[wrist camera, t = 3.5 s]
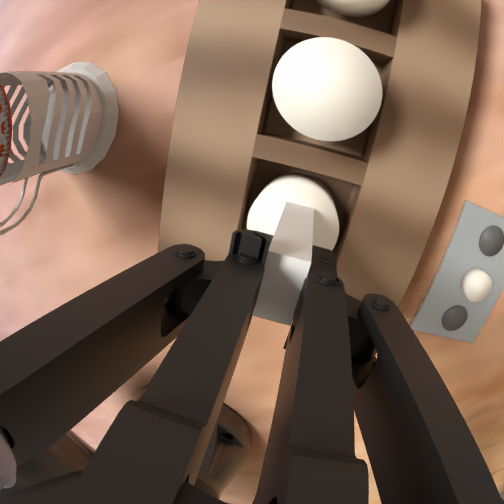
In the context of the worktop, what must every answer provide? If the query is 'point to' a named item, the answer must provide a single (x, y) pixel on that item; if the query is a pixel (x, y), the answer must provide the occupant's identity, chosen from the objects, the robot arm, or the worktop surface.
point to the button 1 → (302, 193)
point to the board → (316, 151)
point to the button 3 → (354, 6)
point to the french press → (56, 123)
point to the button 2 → (327, 89)
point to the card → (465, 277)
